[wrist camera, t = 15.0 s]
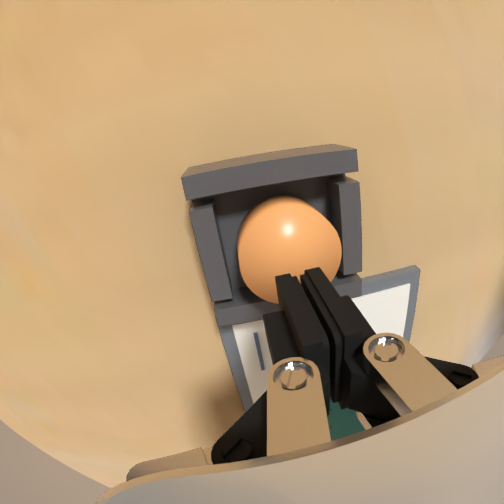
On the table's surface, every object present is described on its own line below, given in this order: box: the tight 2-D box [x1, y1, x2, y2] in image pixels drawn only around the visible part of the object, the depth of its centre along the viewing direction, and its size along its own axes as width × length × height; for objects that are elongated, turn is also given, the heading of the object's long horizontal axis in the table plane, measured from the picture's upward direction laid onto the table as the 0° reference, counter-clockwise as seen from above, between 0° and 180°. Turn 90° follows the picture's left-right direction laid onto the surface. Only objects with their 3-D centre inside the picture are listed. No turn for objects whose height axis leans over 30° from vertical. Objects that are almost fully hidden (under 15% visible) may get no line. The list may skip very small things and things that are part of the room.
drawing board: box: [215, 265, 420, 412], centre depth 24 cm, size 16×13×1 cm
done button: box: [237, 196, 342, 304], centre depth 15 cm, size 5×5×2 cm
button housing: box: [181, 144, 362, 326], centre depth 18 cm, size 9×9×4 cm
